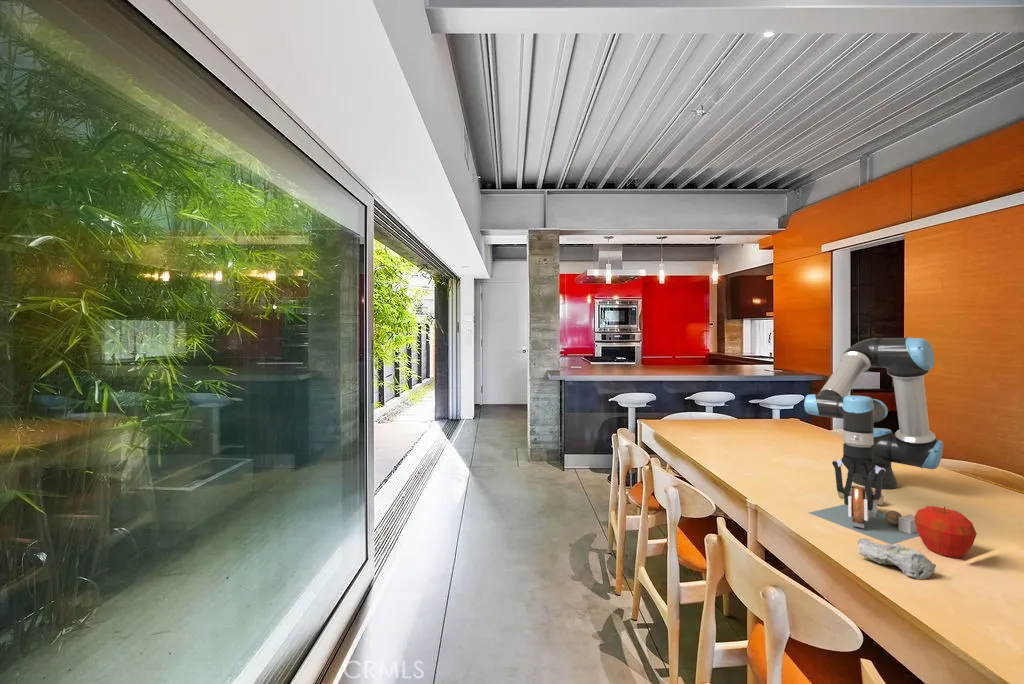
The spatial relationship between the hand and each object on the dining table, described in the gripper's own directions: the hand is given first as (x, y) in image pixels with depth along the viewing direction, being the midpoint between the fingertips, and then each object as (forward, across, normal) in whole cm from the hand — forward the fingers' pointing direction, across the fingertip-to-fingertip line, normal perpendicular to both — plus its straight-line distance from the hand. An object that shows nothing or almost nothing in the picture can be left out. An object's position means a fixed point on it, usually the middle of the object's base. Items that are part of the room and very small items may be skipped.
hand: (858, 517), depth 134 cm
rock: (+5, -4, +29) cm, 29 cm away
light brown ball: (+3, +7, +11) cm, 14 cm away
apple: (+5, +19, -1) cm, 20 cm away
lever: (+2, 0, +9) cm, 9 cm away
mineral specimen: (+5, +11, -20) cm, 23 cm away
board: (+5, +1, +9) cm, 10 cm away
